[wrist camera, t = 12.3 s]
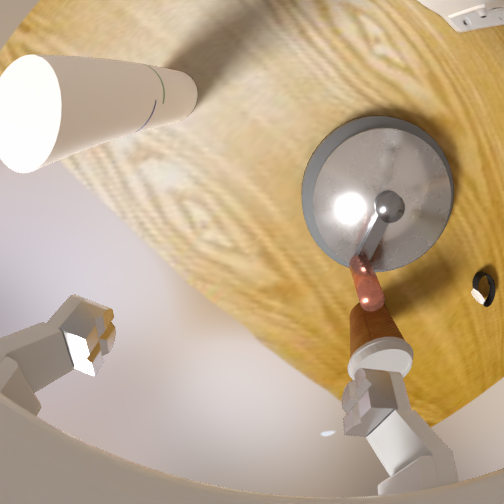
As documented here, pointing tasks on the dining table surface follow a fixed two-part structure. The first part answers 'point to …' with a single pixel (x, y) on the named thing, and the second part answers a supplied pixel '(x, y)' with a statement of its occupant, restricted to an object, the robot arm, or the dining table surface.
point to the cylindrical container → (83, 105)
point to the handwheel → (380, 204)
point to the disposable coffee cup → (377, 343)
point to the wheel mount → (331, 143)
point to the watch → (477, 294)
